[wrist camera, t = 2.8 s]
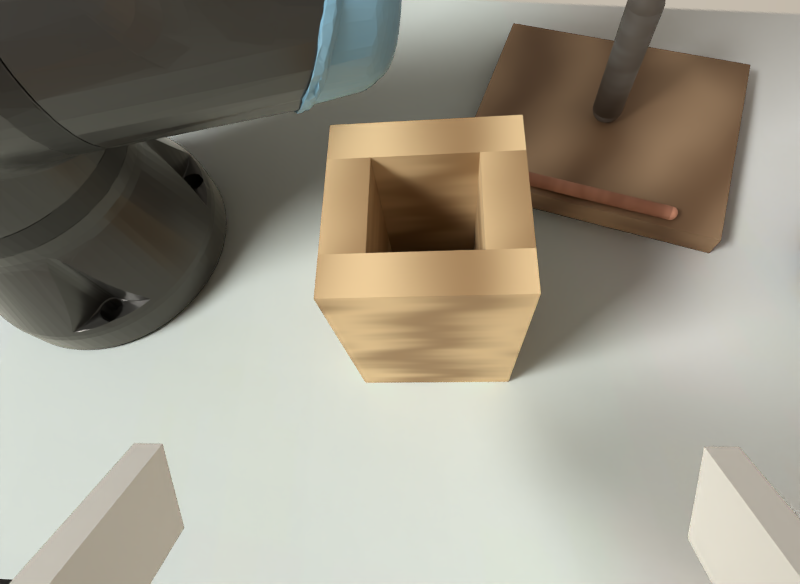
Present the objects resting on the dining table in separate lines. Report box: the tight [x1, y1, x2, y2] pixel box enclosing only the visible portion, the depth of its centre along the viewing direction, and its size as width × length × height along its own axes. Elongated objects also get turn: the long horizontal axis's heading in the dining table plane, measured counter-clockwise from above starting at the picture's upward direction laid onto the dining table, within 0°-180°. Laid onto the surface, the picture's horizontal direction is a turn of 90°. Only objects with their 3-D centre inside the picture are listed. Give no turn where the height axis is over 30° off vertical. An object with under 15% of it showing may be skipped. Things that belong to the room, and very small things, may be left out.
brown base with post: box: [475, 0, 750, 253], centre depth 30 cm, size 16×14×10 cm
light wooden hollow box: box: [314, 115, 541, 383], centre depth 25 cm, size 8×8×12 cm
